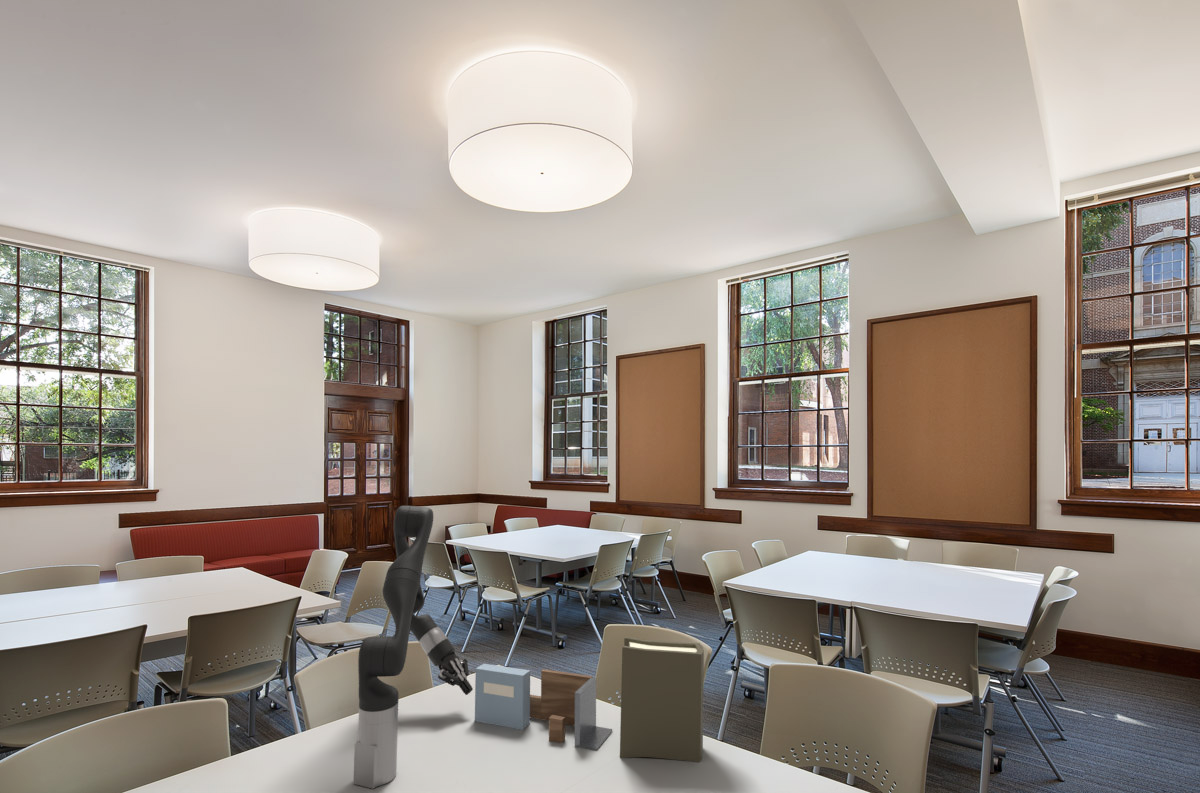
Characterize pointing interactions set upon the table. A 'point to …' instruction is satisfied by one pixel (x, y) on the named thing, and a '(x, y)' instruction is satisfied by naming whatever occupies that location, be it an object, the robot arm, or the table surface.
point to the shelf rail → (557, 701)
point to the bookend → (588, 718)
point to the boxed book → (502, 696)
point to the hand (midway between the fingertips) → (469, 692)
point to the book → (662, 700)
